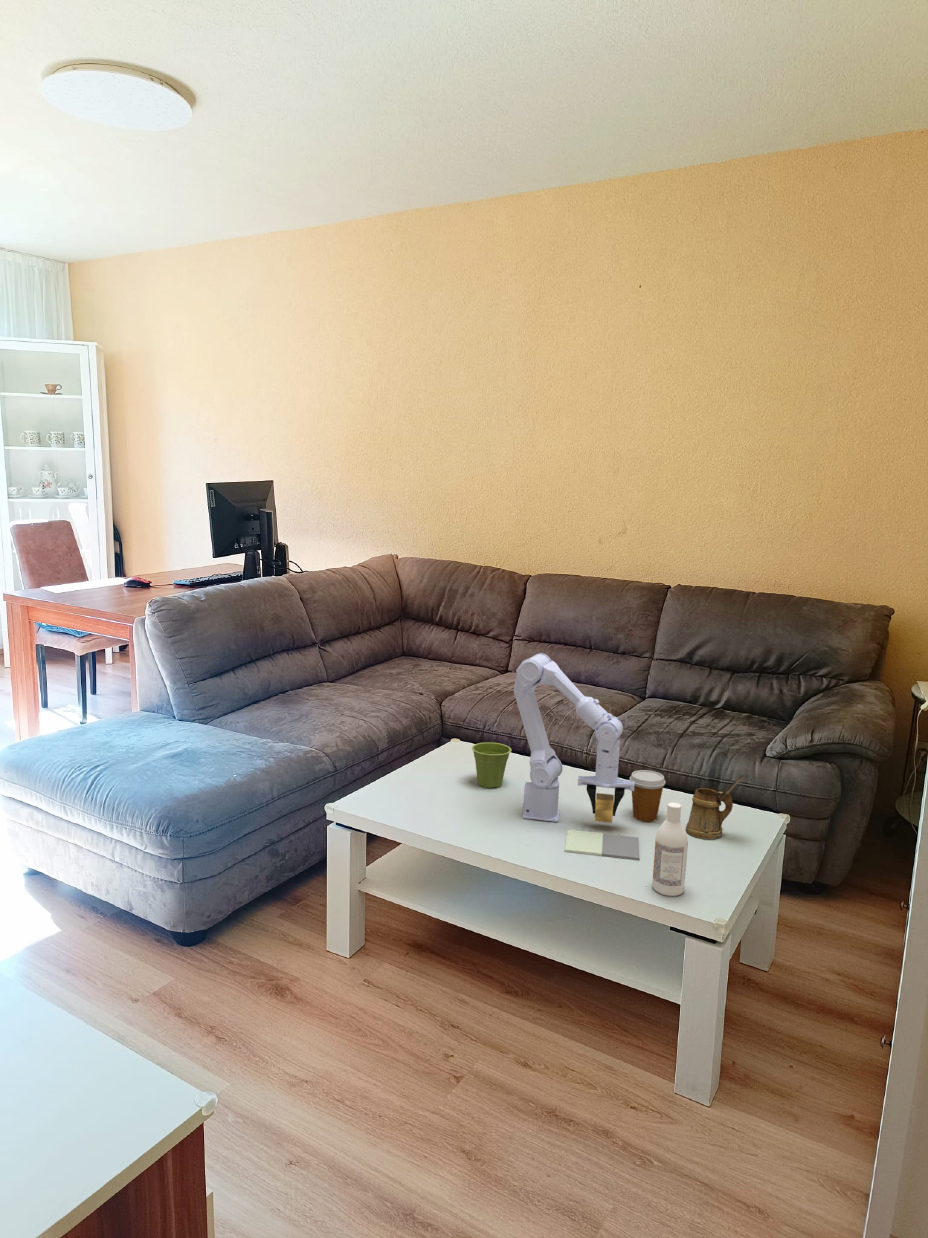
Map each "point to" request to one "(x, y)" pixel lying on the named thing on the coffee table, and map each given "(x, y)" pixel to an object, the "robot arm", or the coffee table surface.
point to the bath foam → (670, 854)
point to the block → (604, 807)
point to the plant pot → (490, 763)
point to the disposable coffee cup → (646, 794)
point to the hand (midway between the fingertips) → (603, 813)
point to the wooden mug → (709, 812)
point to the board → (602, 844)
